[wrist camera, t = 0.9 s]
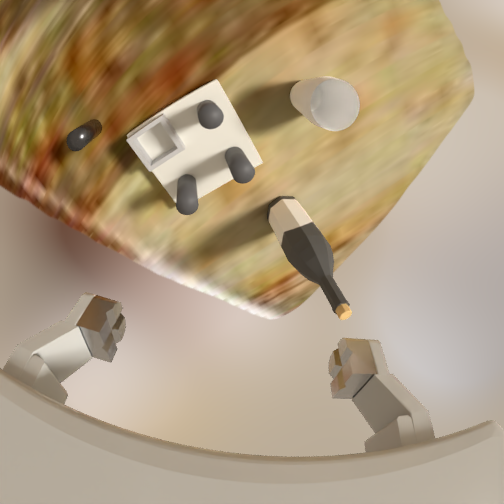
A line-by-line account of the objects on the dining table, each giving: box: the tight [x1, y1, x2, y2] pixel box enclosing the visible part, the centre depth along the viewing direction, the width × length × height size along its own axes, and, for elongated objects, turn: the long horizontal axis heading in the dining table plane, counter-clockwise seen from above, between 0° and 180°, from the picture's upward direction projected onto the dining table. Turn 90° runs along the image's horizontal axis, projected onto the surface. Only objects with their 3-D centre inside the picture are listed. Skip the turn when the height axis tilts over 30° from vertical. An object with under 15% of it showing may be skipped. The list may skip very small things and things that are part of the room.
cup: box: [290, 76, 360, 131], centre depth 41 cm, size 9×9×12 cm
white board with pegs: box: [127, 79, 263, 215], centre depth 43 cm, size 18×18×12 cm
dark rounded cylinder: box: [67, 119, 102, 151], centre depth 36 cm, size 4×4×9 cm
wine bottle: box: [267, 196, 352, 320], centre depth 48 cm, size 8×8×30 cm
